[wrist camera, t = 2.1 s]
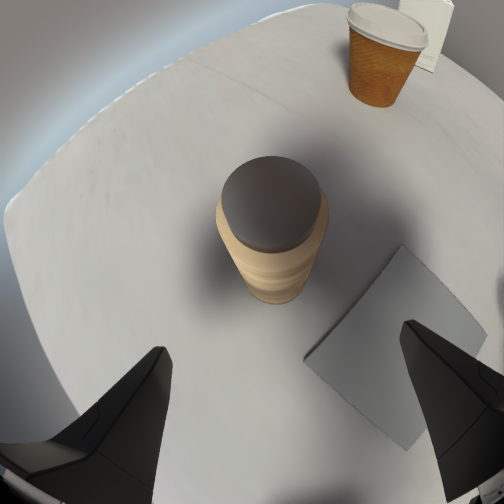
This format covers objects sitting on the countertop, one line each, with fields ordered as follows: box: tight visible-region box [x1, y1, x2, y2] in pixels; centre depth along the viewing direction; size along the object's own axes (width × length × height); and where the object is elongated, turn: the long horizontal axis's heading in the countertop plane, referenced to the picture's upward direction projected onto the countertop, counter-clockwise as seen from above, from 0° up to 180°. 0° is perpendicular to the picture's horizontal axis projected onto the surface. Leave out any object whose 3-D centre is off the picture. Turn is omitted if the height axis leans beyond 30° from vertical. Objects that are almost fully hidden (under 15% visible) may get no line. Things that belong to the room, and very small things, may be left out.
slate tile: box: [304, 245, 487, 451], centre depth 19 cm, size 13×13×1 cm
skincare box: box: [398, 0, 454, 73], centre depth 25 cm, size 8×6×15 cm
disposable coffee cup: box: [346, 3, 429, 107], centre depth 23 cm, size 10×10×12 cm
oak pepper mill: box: [216, 156, 329, 305], centre depth 17 cm, size 5×5×12 cm
